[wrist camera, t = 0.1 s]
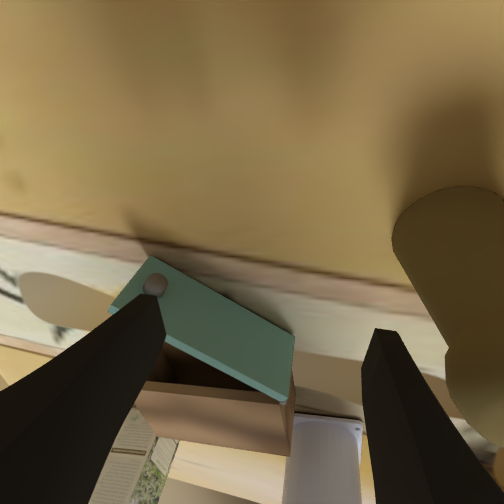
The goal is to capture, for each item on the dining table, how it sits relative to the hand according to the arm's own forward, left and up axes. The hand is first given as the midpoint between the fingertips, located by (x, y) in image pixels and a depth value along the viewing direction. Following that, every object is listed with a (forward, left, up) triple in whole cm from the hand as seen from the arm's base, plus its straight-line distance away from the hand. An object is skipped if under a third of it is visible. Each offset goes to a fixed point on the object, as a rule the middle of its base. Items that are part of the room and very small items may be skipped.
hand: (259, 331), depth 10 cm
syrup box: (-30, +20, -10) cm, 37 cm away
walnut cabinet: (-17, +8, -10) cm, 21 cm away
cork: (-3, -9, -10) cm, 14 cm away
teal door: (-8, +6, -10) cm, 14 cm away
